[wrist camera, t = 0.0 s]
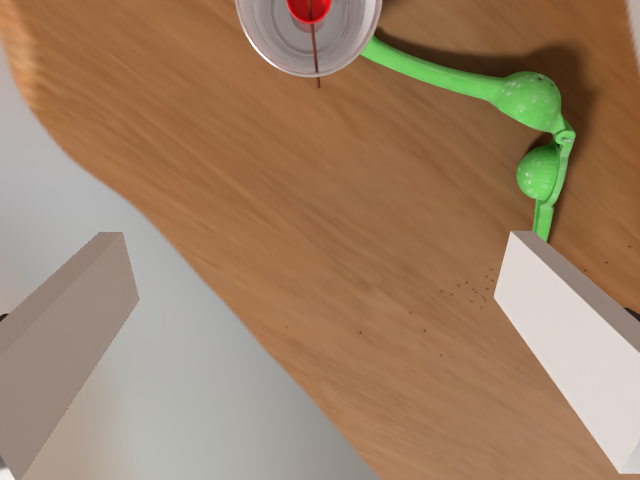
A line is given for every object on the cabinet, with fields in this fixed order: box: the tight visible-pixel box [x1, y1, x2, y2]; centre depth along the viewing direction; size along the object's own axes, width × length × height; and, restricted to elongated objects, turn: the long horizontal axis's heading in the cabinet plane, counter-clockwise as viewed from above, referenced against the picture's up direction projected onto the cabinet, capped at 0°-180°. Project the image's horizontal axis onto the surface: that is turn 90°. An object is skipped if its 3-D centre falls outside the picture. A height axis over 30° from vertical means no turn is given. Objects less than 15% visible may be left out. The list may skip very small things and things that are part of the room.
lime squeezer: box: [360, 34, 576, 243], centre depth 36 cm, size 34×12×6 cm, turn 38°
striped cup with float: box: [235, 0, 383, 88], centre depth 27 cm, size 10×8×12 cm
